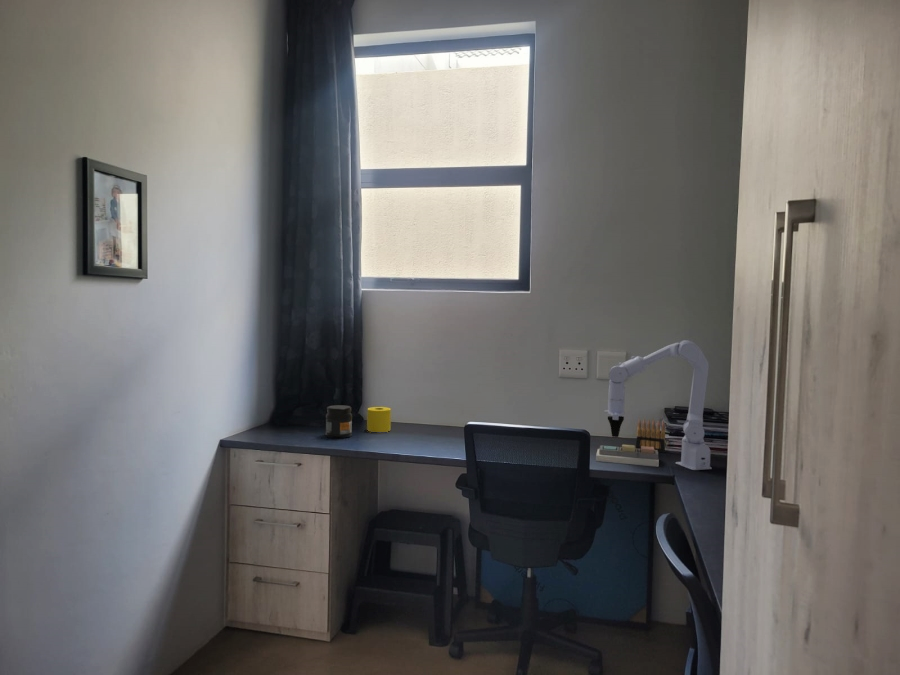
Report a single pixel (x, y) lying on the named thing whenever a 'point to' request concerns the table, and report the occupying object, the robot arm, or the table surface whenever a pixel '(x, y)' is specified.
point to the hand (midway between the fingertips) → (615, 436)
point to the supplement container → (338, 421)
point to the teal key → (609, 448)
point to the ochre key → (628, 448)
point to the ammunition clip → (651, 436)
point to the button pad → (627, 457)
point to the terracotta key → (647, 449)
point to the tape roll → (379, 419)
